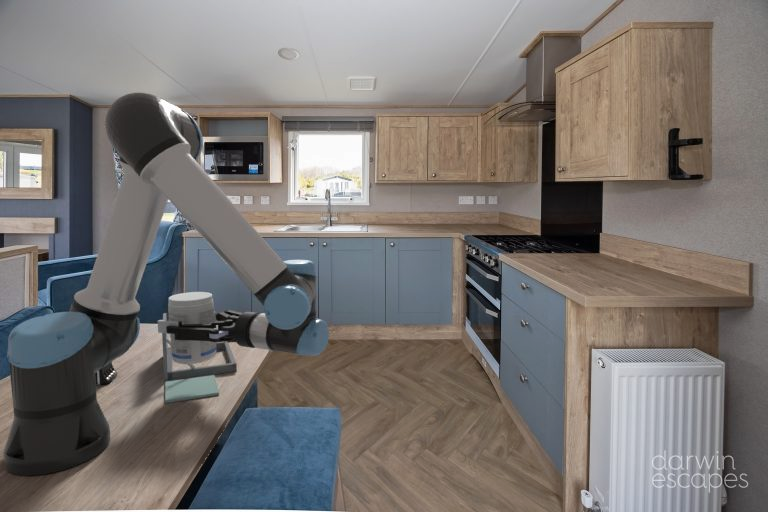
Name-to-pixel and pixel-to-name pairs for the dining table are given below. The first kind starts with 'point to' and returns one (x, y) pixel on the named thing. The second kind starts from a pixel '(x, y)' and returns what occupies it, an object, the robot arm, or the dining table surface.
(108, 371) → the battery charger
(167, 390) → the mat
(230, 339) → the bread roll
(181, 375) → the grey open frame
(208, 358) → the supplement tub
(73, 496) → the dining table surface
